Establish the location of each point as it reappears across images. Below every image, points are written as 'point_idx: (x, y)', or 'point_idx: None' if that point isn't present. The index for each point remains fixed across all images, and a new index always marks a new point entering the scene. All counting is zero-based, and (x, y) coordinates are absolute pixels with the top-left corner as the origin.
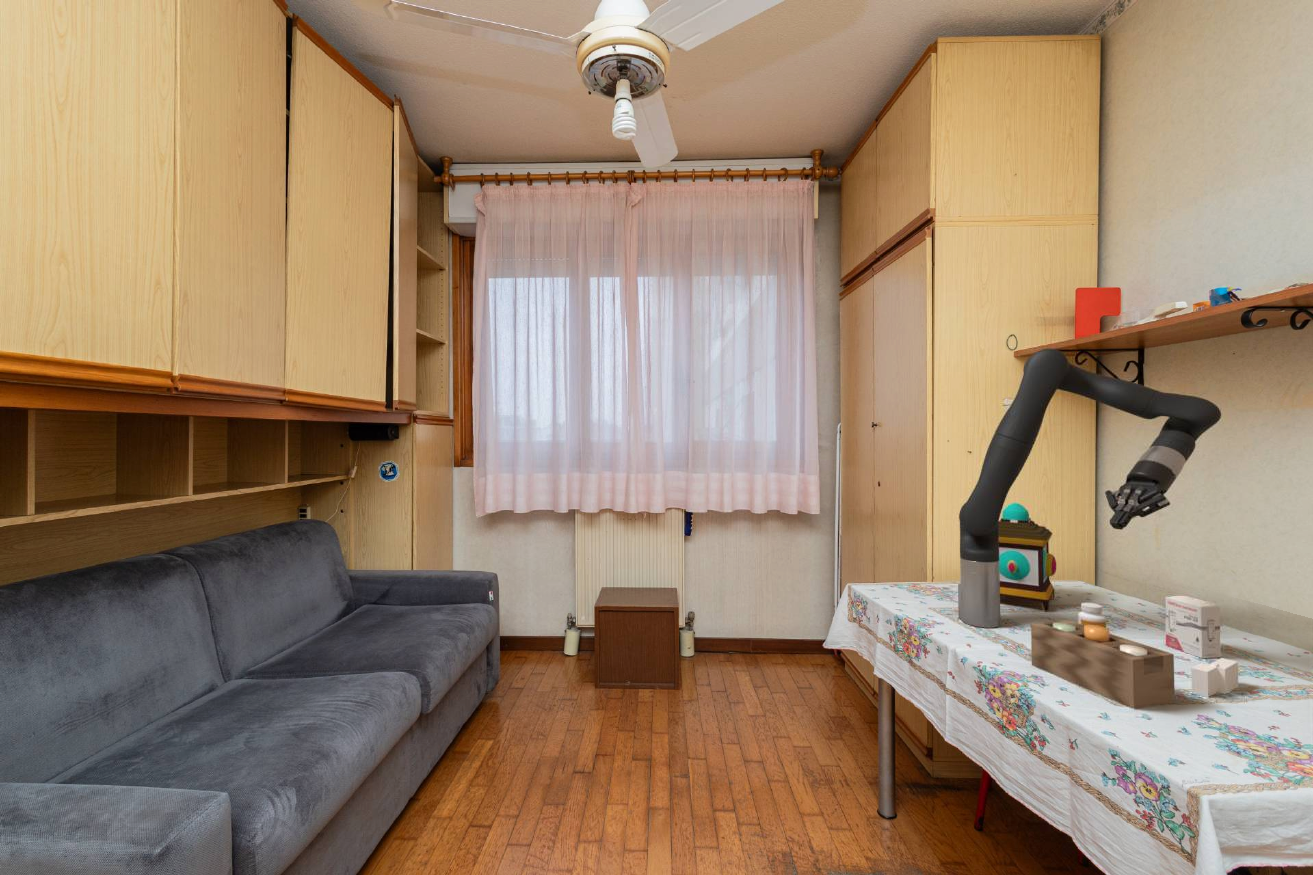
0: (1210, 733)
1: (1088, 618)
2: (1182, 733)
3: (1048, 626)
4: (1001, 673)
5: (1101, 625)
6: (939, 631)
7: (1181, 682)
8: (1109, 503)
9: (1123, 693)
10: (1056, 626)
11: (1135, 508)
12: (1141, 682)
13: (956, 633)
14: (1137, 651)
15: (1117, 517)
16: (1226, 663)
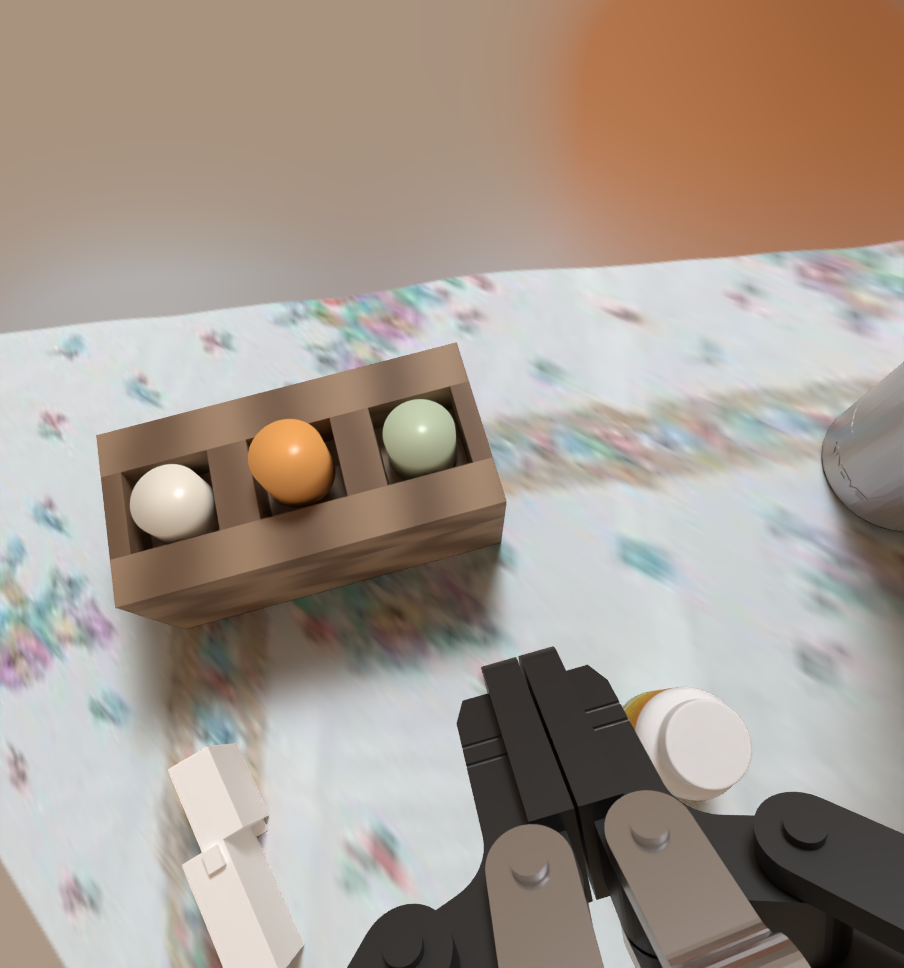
0: (26, 569)
1: (654, 700)
2: (40, 503)
3: (425, 383)
4: (401, 298)
5: None
6: (758, 285)
7: (309, 781)
8: (894, 843)
9: None
10: (411, 401)
11: (416, 928)
12: None
13: (743, 328)
14: (140, 491)
15: (534, 717)
16: (227, 930)
